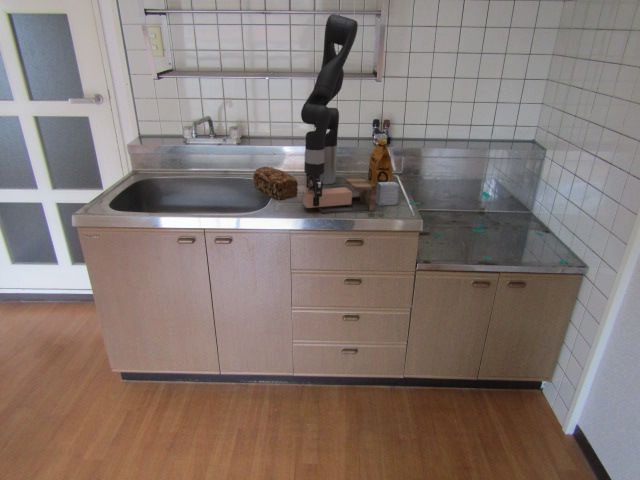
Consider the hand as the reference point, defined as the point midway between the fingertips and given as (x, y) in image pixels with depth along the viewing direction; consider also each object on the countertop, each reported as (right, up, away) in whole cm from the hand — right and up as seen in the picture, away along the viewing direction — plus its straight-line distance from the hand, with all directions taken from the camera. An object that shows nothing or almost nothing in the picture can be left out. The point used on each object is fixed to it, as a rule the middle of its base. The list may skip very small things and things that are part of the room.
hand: (313, 203), depth 170 cm
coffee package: (+29, +7, +25) cm, 39 cm away
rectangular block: (+5, 0, +2) cm, 6 cm away
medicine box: (+30, 0, +10) cm, 31 cm away
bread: (-17, +6, +19) cm, 26 cm away
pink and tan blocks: (+12, -1, +5) cm, 13 cm away
